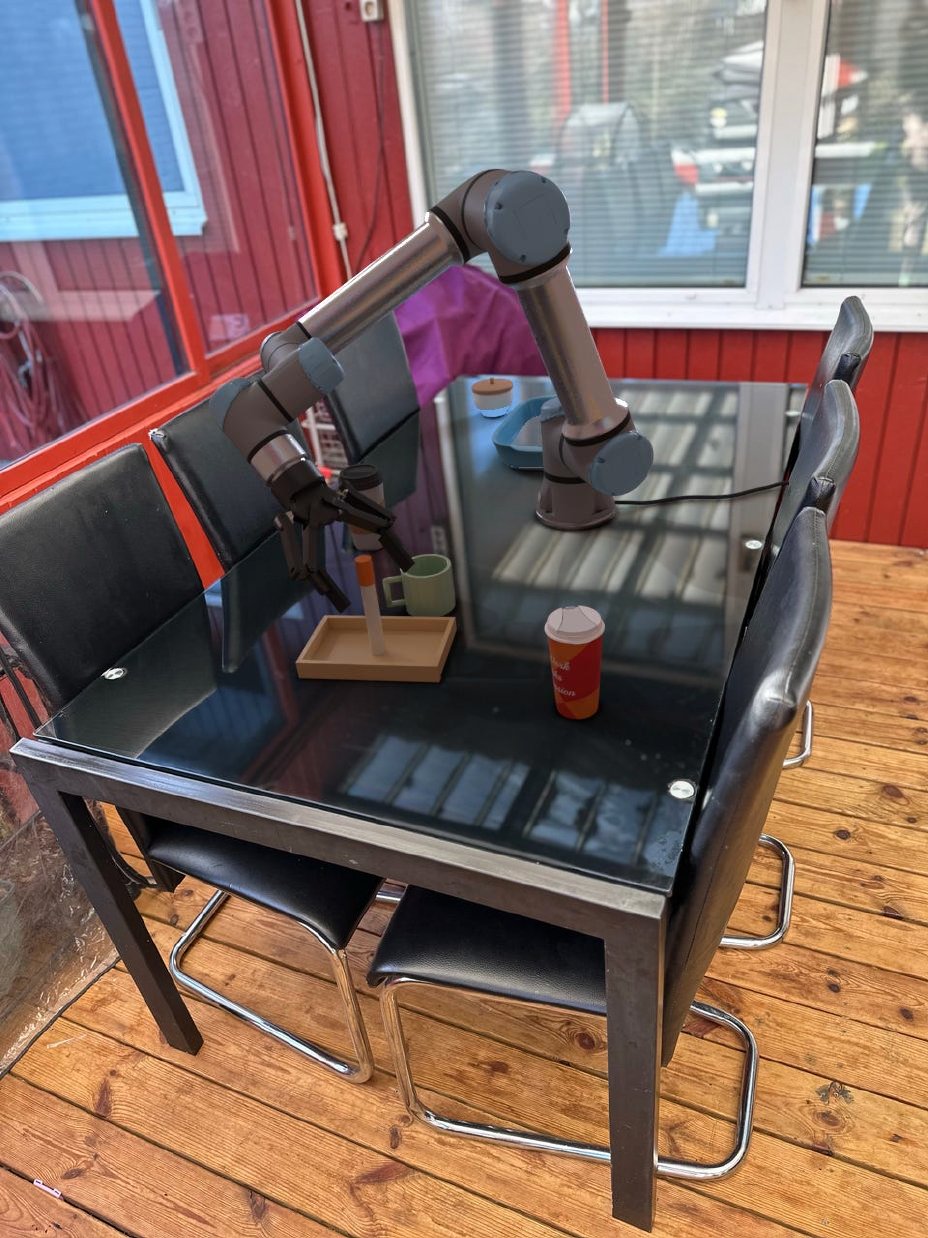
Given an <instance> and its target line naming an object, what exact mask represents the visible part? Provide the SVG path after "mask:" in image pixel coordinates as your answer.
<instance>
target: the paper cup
mask: <svg viewBox="0 0 928 1238" xmlns="http://www.w3.org/2000/svg"><path fill="white" fill-rule="evenodd" d="M605 630H606V625H605V622H604V620H603V619H602V616H601V614H600V613H599V612H598V611H597V610H596V609H595V608H592V607H589V606H586V605H577V606H574V605H573V606H565V608H562V607H559V608H557V609H555V610H553V611H552V612H551V613H550V614H549V615H548V617H547V621H546V623H545V625H544V632H545V634H546V635H547V640H548V641H547V643H548V650H549V657H550V666H551V674H552V675H551V676H552V682H553V690H554V691H553V692H554V699H555V704H556V709H557V711H558V713H559V714H560V715H562V716H563V717H565V718H566V719H571V720H582V719H588V718H591V717H592V716H593V715H595V714H596V713H597V711H598V709H599V700H600V686H601V685H600V684H601V670H602V669H601V668H602V665H601V664H602V648H603V647H602V646H603V634H604V632H605Z"/></svg>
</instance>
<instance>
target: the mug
mask: <svg viewBox="0 0 928 1238" xmlns="http://www.w3.org/2000/svg"><path fill="white" fill-rule="evenodd" d="M411 558H412V559H413V561H414V562H415V564H414V565H413V566H412V567H411V568H410V569H409V570H408V571H407V572H406V573H403V571H402V570H401V569H400V568H399V570H400V575H395V576H389V577H384V578H383V579H382V586H383V587H382V588H383V592H384V600H385V605H386V607H387V608H389V609H390V608H396V607H402V606H405V611H406V612H407V614H408V615H409V616H411V617H444V616H445V615H447V614H449V613H450V612H451V611H453V610H454V608H455V607H456V603H457V601H456V593H455V583H454V576H453V575H454V574H453V568H452V561H451V560H450V559H449V558H448V557H447V556H445V555H443V554H436V553H426V554H419V555H415V556H412V557H411ZM394 583H395V584H396V583H401V586H402V591H403V592H402V593H403V598H402V599H395V600H393V598H392V592H391V586H390V584H394Z"/></svg>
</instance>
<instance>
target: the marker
mask: <svg viewBox="0 0 928 1238" xmlns="http://www.w3.org/2000/svg"><path fill="white" fill-rule="evenodd" d="M354 564H355V568H356V576H357V581H358V585H359V588H360V594H361V599H362V606H363V611H364V616H365V617H366V623H367V629H368V634H369V640H370V646H371V651H372V654H373V655H382V654H384V653H385V652H386V647H385V641H384V635H383V629H382V623H381V617H380V616H381V612H380V607H379V600H378V599H379V598H378V594H377V589H376V578H375V577H376V576H375V571H374V565H373V560H372V556H371V555H368V554H361V555H358V556H356V557H355V558H354Z"/></svg>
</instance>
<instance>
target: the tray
mask: <svg viewBox="0 0 928 1238" xmlns="http://www.w3.org/2000/svg"><path fill="white" fill-rule="evenodd" d="M380 617H381V623H382V629H383V635H384V641H385V647H386V652H385V653H384V654H382V655H373V654H372V651H371V646H370V640H369V634H368V629H367V623H366V617H365V615H341V614H339V615H334V614H333V615H331V614H330V615H329V614H328V615H327V614H326V615H324V614H323V617H322V618H321V620H320V621H319V623H318V625H317V626H316V628H315V630H314V631H313V633H312V635H311V636H310V637H309V640H308V641H307V643H306V645H305V646H304V648H303V650H302V651H301V653H300V655H299V656H298V657H297V659H296V660H295V667H296V671H297V675H298V679H315V680H316V679H319V680H348V681H349V680H351V681H381V682H382V681H383V682H386V681H387V682H414V683H416V682H417V683H418V682H419V683H440V682H441V679H442V672H443V670H444V667H445V664H446V661H447V658H448V655H449V653H450V650H451V647H452V645H453V641H454V639H455V636H456V633H457V628H458V627H457V619H456V616H440V617H414V616H400V615H399V616H397V615H380Z"/></svg>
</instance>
